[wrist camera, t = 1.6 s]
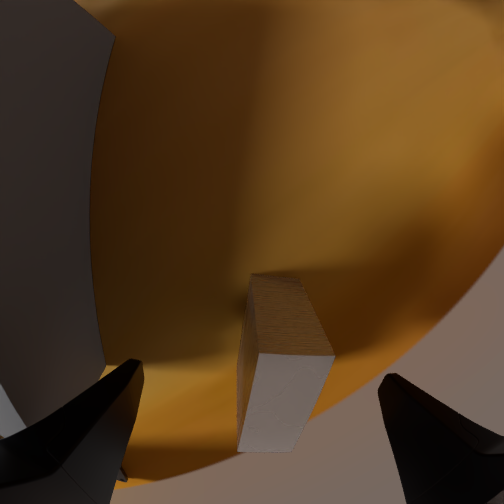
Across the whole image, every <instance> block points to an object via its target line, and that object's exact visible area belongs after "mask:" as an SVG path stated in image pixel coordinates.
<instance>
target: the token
mask: <svg viewBox="0 0 504 504" xmlns="http://www.w3.org/2000/svg"><path fill="white" fill-rule="evenodd" d="M334 359H335V354H334V351H333V349H332V347H331V345H330V343H329V341H328V338H327V336H326V334H325V332H324V330H323V328H322V325H321V323H320V321H319V319H318V317H317V315H316V313H315V311H314V309H313V306H312V304H311V302H310V300H309V298H308V296H307V294H306V292H305V290H304V288H303V286H302V284H301V282H300V279H296V278H286V277H277V276H268V275H259V274H251V276H250V283H249V289H248V296H247V303H246V309H245V316H244V322H243V329H242V335H241V342H240V348H239V355H238V361H237V452H263V453H267V452H268V453H270V452H271V453H273V452H292V449H293V448H294V446H295V444H296V442H297V440H298V439H299V437H300V435H301V433H302V431H303V429H304V427H305V425H306V423H307V421H308V418H309V416H310V414H311V412H312V410H313V408H314V406H315V403H316V401H317V399H318V397H319V395H320V392H321V390H322V388H323V385H324V383H325V381H326V378H327V376H328V374H329V371H330V369H331V366H332V364H333V361H334Z"/></svg>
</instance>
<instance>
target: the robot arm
mask: <svg viewBox="0 0 504 504" xmlns="http://www.w3.org/2000/svg"><path fill="white" fill-rule="evenodd" d="M143 384H144V372H143V364H142V361H140V360H137V359H132V358H131V359H128V360H127V361H126V362H124V363H123V364H121V365H120V366H119V367H117V368H116V369H114V370H113V371H112V372H110V373H109V374H107V375H106V376H105V377H103V378H102V379H100V380H99V381H98V382H96V383H95V384H93V385H92V386H90V387H89V388H88V389H86V390H85V391H83V392H82V393H81V394H79V395H78V396H76V397H75V398H73V399H72V400H71V401H69V402H68V403H66V404H65V405H63V407H60V408H59V409H57V410H56V411H55V412H53V413H51V414H50V415H48V416H47V417H45V418H44V419H42V420H40V421H38V422H36V423H35V424H33V425H31V426H29V427H27V428H25V429H23V430H21V431H19V432H17V433H15V434H13V435H11V436H9V437H6V438H3V439H0V504H110V500H111V496H112V493H113V490H114V486H115V483H116V480H119V481H122V482H127V480H128V478H127V476H126V474H125V472H124V471H123V469H122V467H121V463H122V460H123V457H124V454H125V451H126V448H127V445H128V441H129V438H130V435H131V433H132V430H133V427H134V424H135V420H136V417H137V412H138V407H139V403H140V398H141V393H142V389H143ZM378 397H379V401H380V406H381V411H382V415H383V420H384V424H385V428H386V431H387V435H388V438H389V441H390V444H391V447H392V451H393V454H394V458H395V461H396V465H397V468H398V472H399V476H400V480H401V483H402V487H403V491H404V495H405V499H406V503H407V504H504V436H501V435H498V434H496V433H494V432H492V431H490V430H488V429H486V428H484V427H482V426H480V425H478V424H476V423H474V422H473V421H471V420H469V419H467V418H466V417H464V416H463V415H461V414H458V412H456V411H454V410H453V409H451V408H450V407H448V406H447V405H445V404H443V403H442V402H440V401H439V400H437V399H435V398H434V397H432V396H431V395H429V394H428V393H426V392H425V391H423V390H421V389H420V388H418V387H417V386H415V385H414V384H412V383H410V382H409V381H407V380H406V379H404V378H403V377H401V376H400V375H398V374H397V373H390V374H387V375H386V376H385V377H384V379H383V381H382V383H381V384H380V386H379V388H378Z"/></svg>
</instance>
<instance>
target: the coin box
mask: <svg viewBox="0 0 504 504" xmlns="http://www.w3.org/2000/svg"><path fill="white" fill-rule="evenodd" d="M114 40H115V36H114V35H113V34H112V33H111V32H110V31H109V30H108V29H107V28H105V27H104V26H103V25H102V24H101V23H100V22H99V21H97V20H96V19H95V18H94V17H93V16H92V15H90V14H89V13H88V12H87V11H86V10H84V9H83V8H82V7H81V6H80V5H78V4H77V3H76V2H75V1H74V0H0V435H2V436H3V437H4V438H6V437H9V436H11V435H13V434H15V433H17V432H19V431H21V430H23V429H25V428H27V427H29V426H31V425H33V424H35V423H36V422H38V421H40V420H42V419H44V418H45V417H47V416H48V415H50V414H51V413H53V412H55V411H56V410H57V409H59V408H60V407H63V405H65V404H66V403H68V402H69V401H71V400H72V399H73V398H75V397H76V396H78V395H79V394H81V393H82V392H83V391H85V390H86V389H88V388H89V387H90V386H92V385H93V384H95V383H96V382H98V380H99V379H100V377H101V375H102V373H103V371H104V369H105V367H106V363H105V358H104V353H103V348H102V343H101V338H100V332H99V326H98V320H97V314H96V306H95V299H94V290H93V280H92V269H91V253H90V222H89V210H90V179H91V164H92V153H93V143H94V135H95V127H96V121H97V114H98V108H99V102H100V97H101V92H102V87H103V82H104V78H105V73H106V69H107V65H108V61H109V57H110V54H111V50H112V47H113V43H114Z"/></svg>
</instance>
